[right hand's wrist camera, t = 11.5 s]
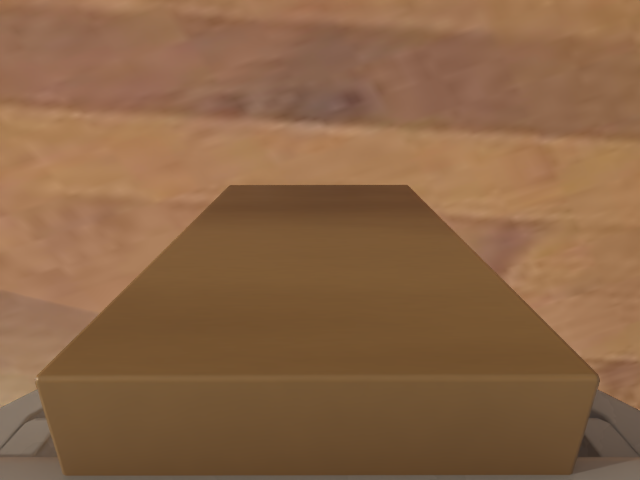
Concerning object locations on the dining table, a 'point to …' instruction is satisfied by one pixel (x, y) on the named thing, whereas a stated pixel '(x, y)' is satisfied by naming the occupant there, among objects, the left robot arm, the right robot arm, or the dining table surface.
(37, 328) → the dining table surface
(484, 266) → the box
